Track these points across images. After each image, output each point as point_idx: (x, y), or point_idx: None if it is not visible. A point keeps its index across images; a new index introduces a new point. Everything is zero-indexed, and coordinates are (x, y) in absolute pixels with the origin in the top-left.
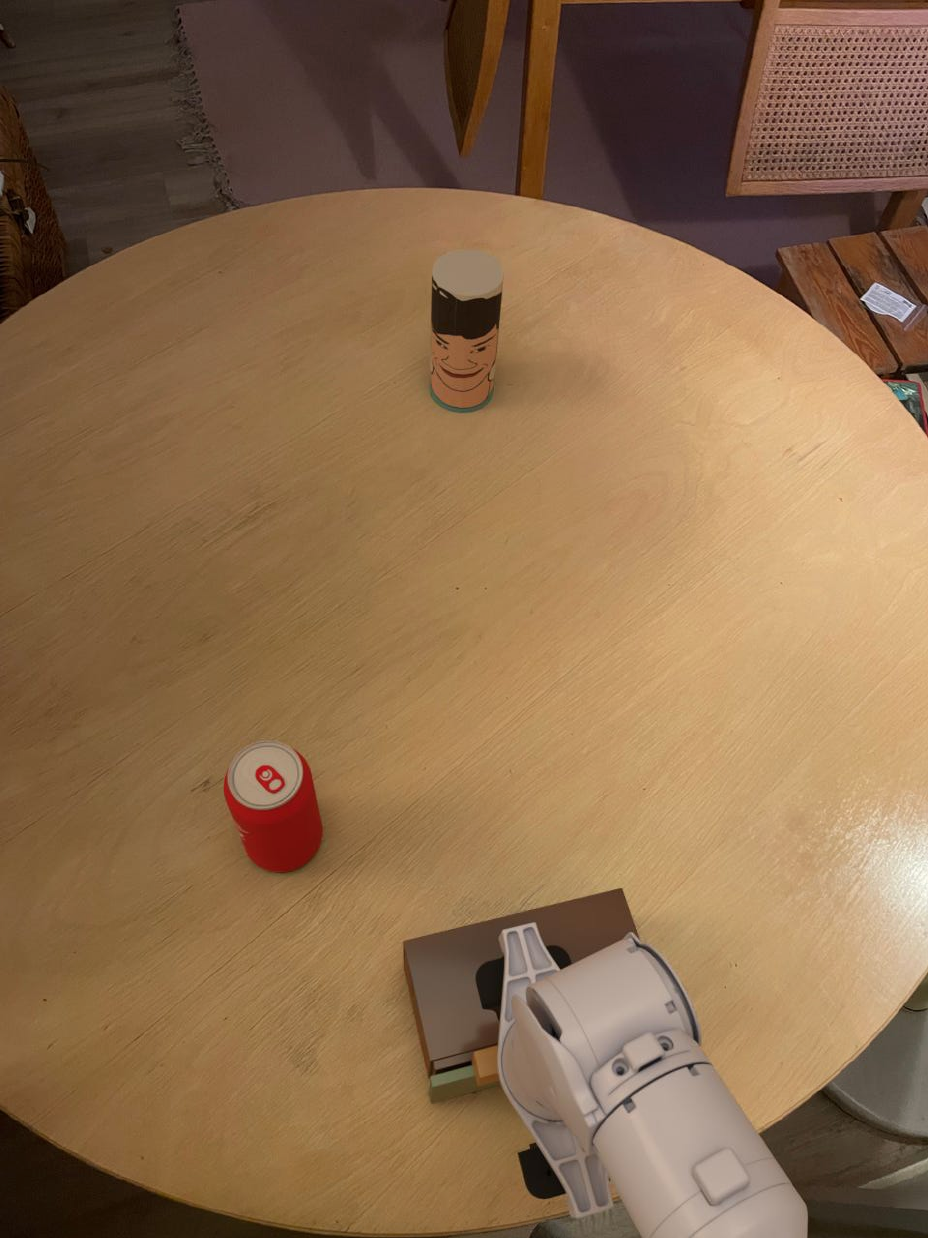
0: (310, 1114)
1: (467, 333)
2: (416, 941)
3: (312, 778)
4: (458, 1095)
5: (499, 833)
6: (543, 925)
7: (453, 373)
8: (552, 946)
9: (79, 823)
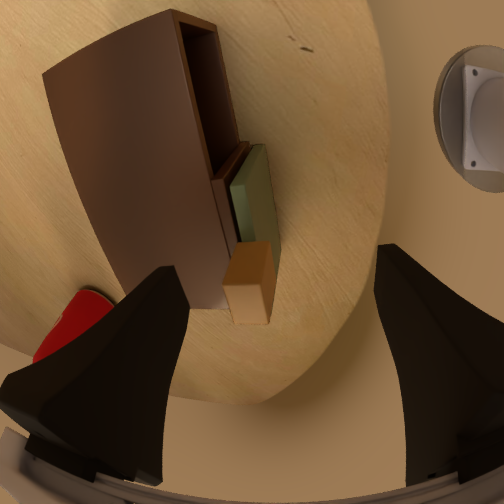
0: (276, 320)
1: None
2: None
3: (42, 353)
4: (277, 230)
5: (57, 164)
6: (86, 170)
7: None
8: (4, 412)
9: None
